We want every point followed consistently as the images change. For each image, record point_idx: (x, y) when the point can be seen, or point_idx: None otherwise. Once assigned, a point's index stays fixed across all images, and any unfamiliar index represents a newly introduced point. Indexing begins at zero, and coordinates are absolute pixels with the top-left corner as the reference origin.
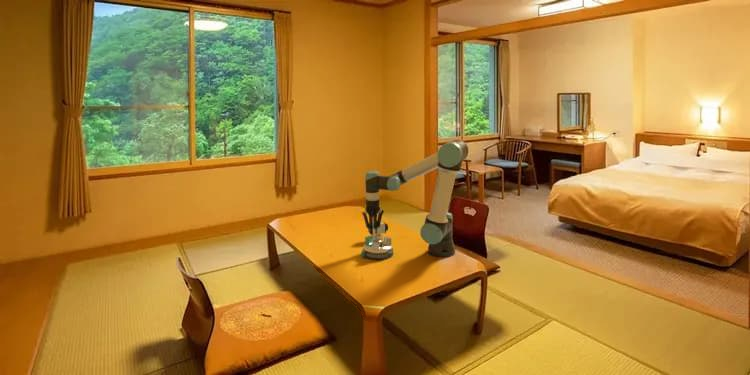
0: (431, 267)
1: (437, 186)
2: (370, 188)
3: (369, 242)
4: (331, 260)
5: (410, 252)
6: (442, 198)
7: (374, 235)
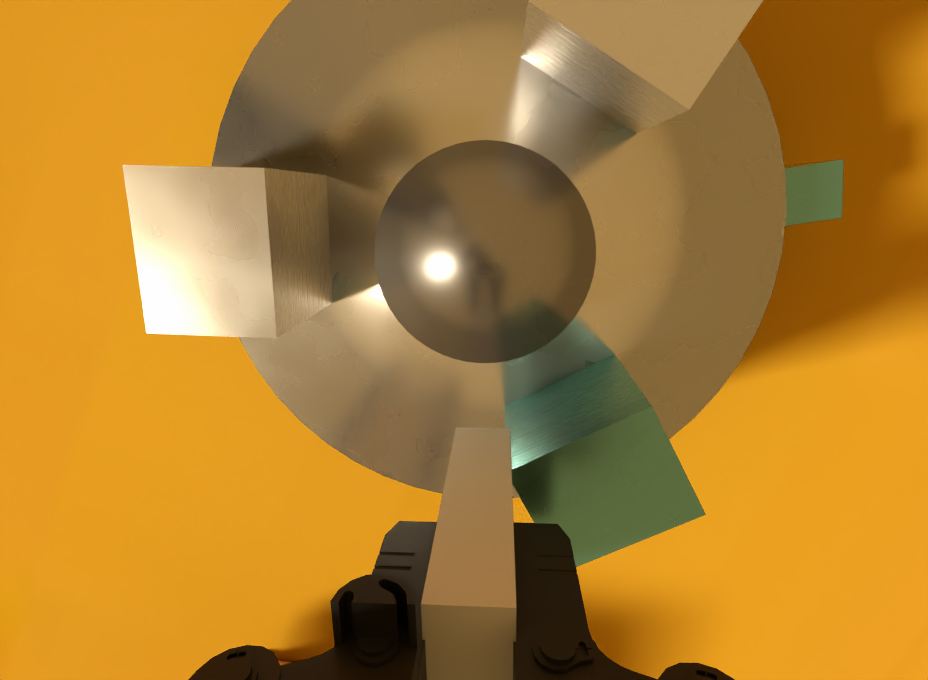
0: None
1: None
2: None
3: (622, 371)
4: None
5: (13, 93)
6: None
7: (473, 479)
